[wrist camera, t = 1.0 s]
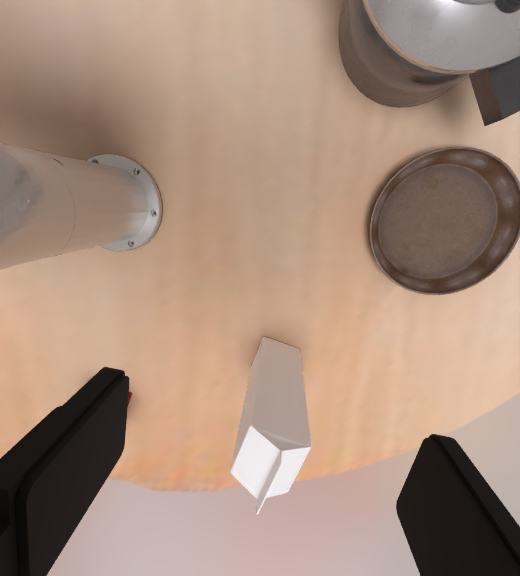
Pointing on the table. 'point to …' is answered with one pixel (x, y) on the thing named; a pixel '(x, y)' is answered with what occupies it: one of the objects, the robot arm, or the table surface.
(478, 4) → the lid
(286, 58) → the table surface
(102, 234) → the robot arm
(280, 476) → the milk
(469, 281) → the plant saucer
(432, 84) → the pot
